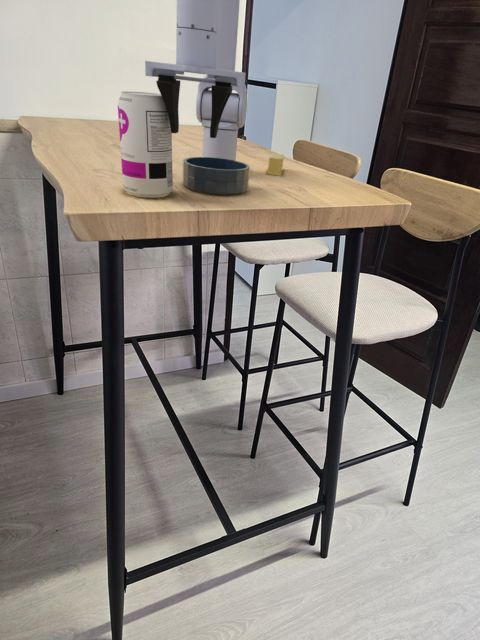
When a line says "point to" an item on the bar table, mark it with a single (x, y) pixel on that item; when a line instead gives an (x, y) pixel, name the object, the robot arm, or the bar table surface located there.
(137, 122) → the supplement can
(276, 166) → the butter
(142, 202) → the bar table surface
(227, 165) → the bowl
